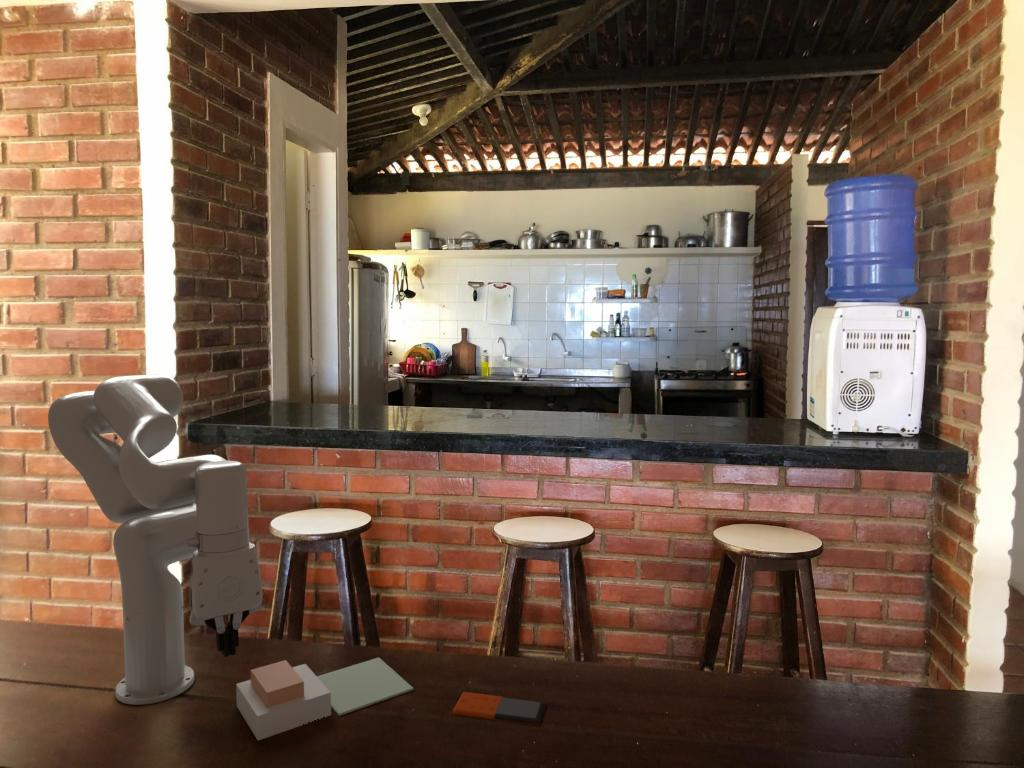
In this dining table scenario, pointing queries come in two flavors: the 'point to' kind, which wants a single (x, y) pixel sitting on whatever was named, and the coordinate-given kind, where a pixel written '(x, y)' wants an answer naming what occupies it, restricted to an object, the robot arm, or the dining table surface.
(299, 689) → the salmon rectangular block
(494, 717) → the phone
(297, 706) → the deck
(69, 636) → the dining table surface
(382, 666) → the mat
